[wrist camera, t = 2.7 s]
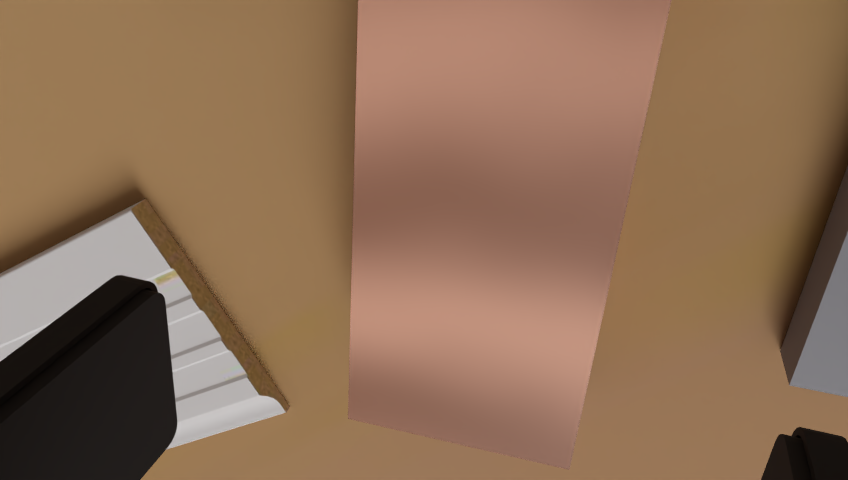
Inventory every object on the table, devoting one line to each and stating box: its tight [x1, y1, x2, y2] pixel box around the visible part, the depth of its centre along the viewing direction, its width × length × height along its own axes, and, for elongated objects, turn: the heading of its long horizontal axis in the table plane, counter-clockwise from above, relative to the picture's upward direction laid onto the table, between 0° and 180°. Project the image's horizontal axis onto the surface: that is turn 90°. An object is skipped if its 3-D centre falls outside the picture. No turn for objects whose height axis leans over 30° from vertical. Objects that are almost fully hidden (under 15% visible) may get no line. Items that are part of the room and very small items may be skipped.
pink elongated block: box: [348, 0, 671, 470], centre depth 18 cm, size 14×6×4 cm, turn 176°
